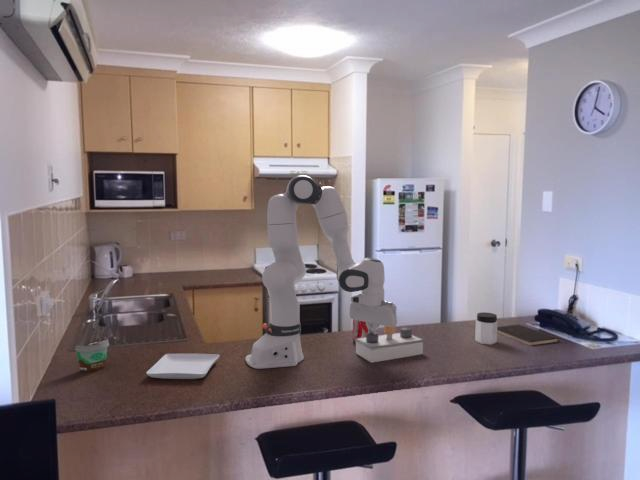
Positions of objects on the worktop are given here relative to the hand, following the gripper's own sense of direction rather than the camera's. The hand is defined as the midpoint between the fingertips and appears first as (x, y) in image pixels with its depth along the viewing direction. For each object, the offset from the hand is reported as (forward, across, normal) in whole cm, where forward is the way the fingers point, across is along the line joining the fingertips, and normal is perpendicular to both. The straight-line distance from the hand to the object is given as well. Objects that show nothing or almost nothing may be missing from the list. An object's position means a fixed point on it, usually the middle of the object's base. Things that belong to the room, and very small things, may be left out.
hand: (372, 333), depth 194 cm
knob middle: (+3, -3, -7) cm, 8 cm away
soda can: (+9, +14, -12) cm, 21 cm away
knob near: (+6, 0, 0) cm, 6 cm away
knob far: (+6, -7, -14) cm, 17 cm away
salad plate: (+10, +45, +56) cm, 72 cm away
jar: (+10, -28, -47) cm, 56 cm away
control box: (+9, -3, -7) cm, 12 cm away
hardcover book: (+10, -38, -67) cm, 78 cm away
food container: (+9, +71, +76) cm, 104 cm away
